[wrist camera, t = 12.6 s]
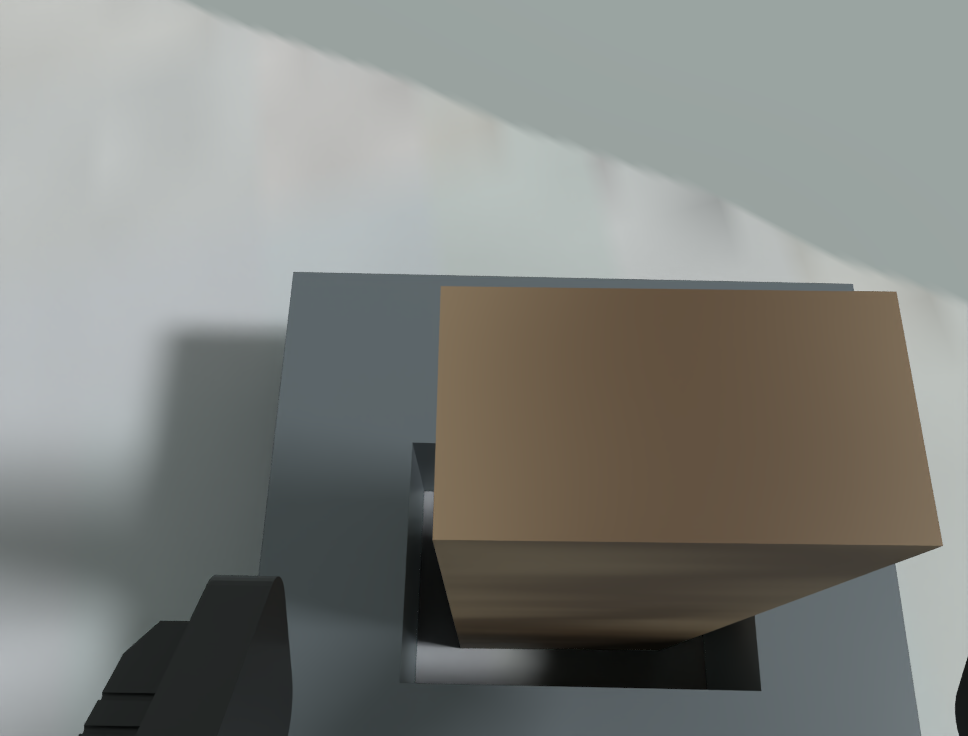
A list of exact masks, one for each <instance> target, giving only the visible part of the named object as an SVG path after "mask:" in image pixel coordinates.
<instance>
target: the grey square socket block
mask: <svg viewBox="0 0 968 736" xmlns="http://www.w3.org/2000/svg"><path fill="white" fill-rule="evenodd" d="M441 286H467V287H550V288H632V289H715V290H797V291H854V289H853V284H831V283H784V282H737V281H691V280H644V279H597V278H550V277H503V276H456V275H409V274H362V273H315V272H293V280H292V289H291V298H290V307H289V315H288V324H287V333H286V341H285V350H284V359H283V368H282V376H281V385H280V394H279V402H278V411H277V420H276V428H275V437H274V446H273V455H272V463H271V472H270V481H269V489H268V498H267V507H266V516H265V524H264V533H263V542H262V550H261V559H260V568H259V576H279V577H281V579H282V581H283V584H284V590H285V599H286V611H287V622H288V634H289V645H290V657H291V669H292V681H293V699H292V712H291V721H290V727H289V733H288V736H921V731H920V724H919V718H918V711H917V705H916V698H915V691H914V685H913V678H912V672H911V665H910V658H909V652H908V645H907V639H906V632H905V625H904V619H903V612H902V606H901V599H900V592H899V586H898V579H897V573H896V566H895V564H892V565H890V566H887V567H884V568H881V569H879V570H876V571H873V572H871V573H868V574H865V575H863V576H860V577H857V578H854V579H852V580H849V581H846V582H844V583H841V584H838V585H835V586H833V587H830V588H827V589H825V590H822V591H819V592H817V593H814V594H811V595H808V596H806V597H803V598H800V599H798V600H795V601H792V602H789V603H787V604H784V605H781V606H779V607H776V608H773V609H771V610H768V611H765V612H762V613H760V614H757V615H754V616H752V617H749V618H746V619H744V620H741V621H738V622H735V623H733V624H730V625H727V626H725V627H722V628H719V629H716V630H714V631H711V632H708V633H706V634H703V638H704V653H705V667H706V682H707V690H690V689H646V688H602V687H558V686H514V685H470V684H425V683H415V674H416V653H417V632H418V611H419V590H420V568H421V547H422V526H423V505H424V491H434V479H435V449H436V418H437V387H438V356H439V326H440V295H441Z"/></svg>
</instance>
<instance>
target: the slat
mask: <svg viewBox="0 0 968 736" xmlns="http://www.w3.org/2000/svg"><path fill="white" fill-rule="evenodd" d="M433 543H434V547H435V551H436V555H437V559H438V563H439V566H440V570H441V574H442V578H443V582H444V586H445V590H446V593H447V597H448V601H449V605H450V609H451V613H452V616H453V620H454V624H455V628H456V632H457V636H458V639H459V643H460V647H461V648H489V649H575V650H662V649H665V648H668V647H670V646H673V645H676V644H679V643H681V642H684V641H687V640H689V639H692V638H695V637H698V636H700V635H703V634H706V633H708V632H711V631H714V630H716V629H719V628H722V627H725V626H727V625H730V624H733V623H735V622H738V621H741V620H744V619H746V618H749V617H752V616H754V615H757V614H760V613H762V612H765V611H768V610H771V609H773V608H776V607H779V606H781V605H784V604H787V603H789V602H792V601H795V600H798V599H800V598H803V597H806V596H808V595H811V594H814V593H817V592H819V591H822V590H825V589H827V588H830V587H833V586H835V585H838V584H841V583H844V582H846V581H849V580H852V579H854V578H857V577H860V576H863V575H865V574H868V573H871V572H873V571H876V570H879V569H881V568H884V567H887V566H890V565H892V564H895V563H898V562H900V561H903V560H906V559H908V558H911V557H914V556H917V555H919V554H922V553H925V552H927V551H930V550H933V549H936V548H938V547H941V546H943V544H942V538H941V533H940V527H939V522H938V517H937V511H936V506H935V500H934V495H933V489H932V484H931V478H930V473H929V467H928V462H927V456H926V451H925V446H924V440H923V435H922V429H921V424H920V418H919V413H918V407H917V402H916V396H915V391H914V385H913V380H912V375H911V369H910V364H909V358H908V353H907V347H906V342H905V336H904V331H903V325H902V320H901V315H900V309H899V304H898V298H897V293H896V292H880V291H797V290H715V289H632V288H550V287H467V286H441V295H440V326H439V356H438V387H437V418H436V449H435V479H434V510H433Z"/></svg>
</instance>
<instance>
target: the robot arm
mask: <svg viewBox="0 0 968 736" xmlns="http://www.w3.org/2000/svg"><path fill="white" fill-rule="evenodd" d="M292 699H293V681H292V669H291V657H290V645H289V634H288V622H287V611H286V599H285V590H284V584H283V581H282V579H281V577H279V576H233V575H214V576H213V577H212V578H211V579H210V580H209V582H208V584H207V585H206V588H205V590H204V592H203V594H202V596H201V598H200V600H199V602H198V604H197V607H196V609H195V611H194V613H193V615H192V617H191V619H190V621H160V622H159V623H158V624H157V625H155V626H154V627H153V628H152V629H151V630H150V631H149V632H147V633H146V634H145V635H144V636H143V637H142V638H141V639H139V640H138V641H137V642H136V643H135V644H134V645H133V646H131V647H130V648H129V649H128V650H127V651H126V652H125V653H124V654H123V656H122V657H121V659H120V661H119V663H118V665H117V666H116V668H115V670H114V672H113V674H112V676H111V677H110V679H109V681H108V683H107V685H106V686H105V688H104V690H103V692H102V699H101V700H98V701H97V703H96V705H95V706H94V708H93V710H92V712H91V714H90V716H89V717H88V719H87V721H86V723H85V725H84V732H83V734H79V736H288V733H289V727H290V721H291V712H292ZM955 716H956V724H957V729H958V733H959V736H968V658H967V661H966V664H965V668H964V671H963V674H962V678H961V681H960V684H959V688H958V691H957V695H956V701H955Z"/></svg>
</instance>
